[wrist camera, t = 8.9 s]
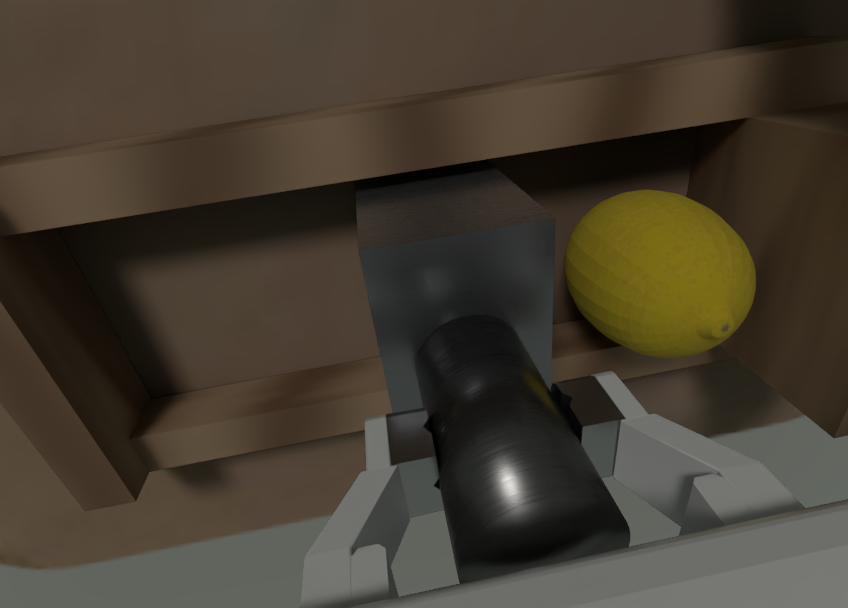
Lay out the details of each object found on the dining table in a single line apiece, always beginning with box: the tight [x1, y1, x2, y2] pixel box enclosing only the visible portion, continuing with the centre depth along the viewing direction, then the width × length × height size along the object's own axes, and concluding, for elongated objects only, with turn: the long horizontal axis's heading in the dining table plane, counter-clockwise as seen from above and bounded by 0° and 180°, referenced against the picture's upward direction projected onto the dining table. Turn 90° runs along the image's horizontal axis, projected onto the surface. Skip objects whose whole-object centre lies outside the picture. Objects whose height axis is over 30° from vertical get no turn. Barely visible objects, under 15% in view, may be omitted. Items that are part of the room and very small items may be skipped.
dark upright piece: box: [355, 159, 630, 584], centre depth 14 cm, size 5×8×13 cm, turn 7°
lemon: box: [564, 190, 756, 358], centre depth 17 cm, size 6×6×8 cm
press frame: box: [0, 36, 848, 511], centre depth 16 cm, size 31×13×9 cm, turn 97°
